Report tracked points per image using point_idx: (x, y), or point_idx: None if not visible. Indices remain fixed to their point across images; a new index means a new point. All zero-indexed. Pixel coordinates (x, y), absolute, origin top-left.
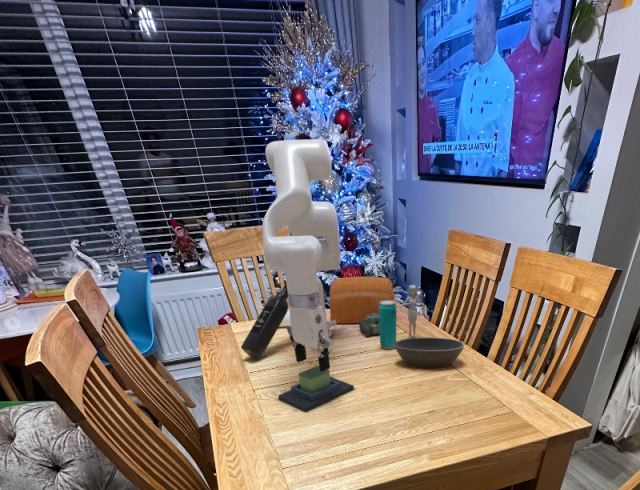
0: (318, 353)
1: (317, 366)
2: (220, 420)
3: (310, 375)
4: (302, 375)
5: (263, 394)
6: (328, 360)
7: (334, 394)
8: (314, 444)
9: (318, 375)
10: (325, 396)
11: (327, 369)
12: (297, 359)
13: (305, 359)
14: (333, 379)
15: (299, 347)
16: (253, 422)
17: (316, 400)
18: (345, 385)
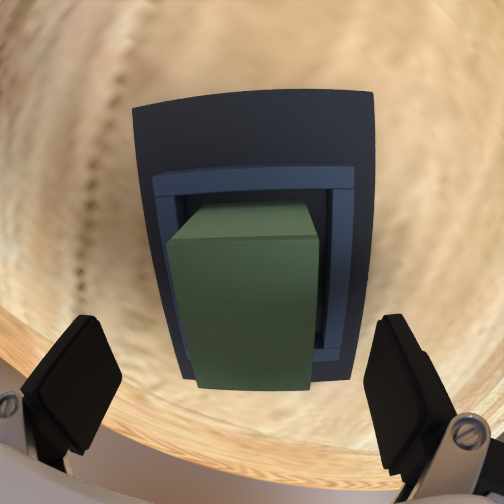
0: (398, 498)
1: (180, 255)
2: (202, 462)
3: (282, 373)
4: (236, 388)
5: (121, 367)
6: (443, 386)
7: (371, 238)
8: (457, 409)
9: (314, 336)
10: (350, 281)
11: (299, 243)
12: (112, 393)
13: (101, 329)
14: (213, 110)
15: (63, 433)
16: (266, 449)
17: (344, 328)
18: (338, 118)
